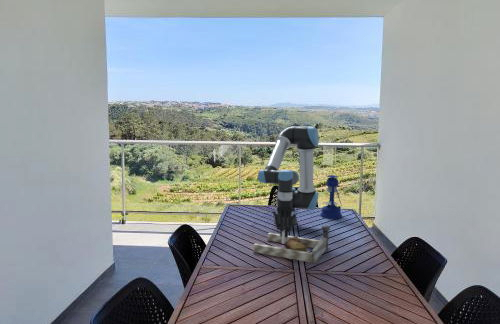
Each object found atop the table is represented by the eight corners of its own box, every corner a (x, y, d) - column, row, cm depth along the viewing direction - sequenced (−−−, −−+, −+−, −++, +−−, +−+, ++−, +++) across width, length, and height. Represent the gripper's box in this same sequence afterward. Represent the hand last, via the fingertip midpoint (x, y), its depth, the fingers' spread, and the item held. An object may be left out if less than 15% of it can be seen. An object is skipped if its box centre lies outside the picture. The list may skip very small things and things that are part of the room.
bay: (253, 251, 190) (253, 230, 188) (271, 237, 213) (271, 218, 211) (318, 263, 175) (318, 240, 174) (329, 246, 199) (330, 226, 197)
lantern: (319, 212, 271) (321, 172, 267) (340, 213, 269) (342, 173, 265) (320, 218, 254) (322, 176, 250) (343, 219, 252) (345, 177, 248)
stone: (307, 254, 187) (308, 245, 186) (290, 256, 184) (291, 246, 184) (297, 245, 201) (297, 236, 200) (281, 246, 199) (281, 237, 198)
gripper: (270, 199, 190) (269, 243, 193) (294, 202, 185) (293, 247, 188) (276, 196, 197) (275, 238, 200) (299, 199, 191) (297, 242, 194)
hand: (283, 242), depth 194 cm, fingers closed
